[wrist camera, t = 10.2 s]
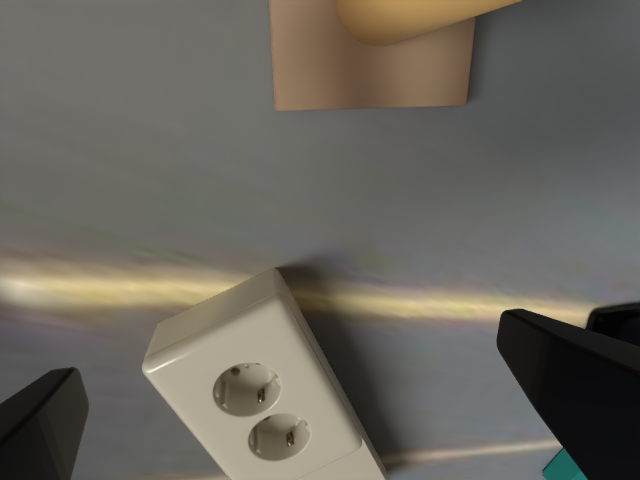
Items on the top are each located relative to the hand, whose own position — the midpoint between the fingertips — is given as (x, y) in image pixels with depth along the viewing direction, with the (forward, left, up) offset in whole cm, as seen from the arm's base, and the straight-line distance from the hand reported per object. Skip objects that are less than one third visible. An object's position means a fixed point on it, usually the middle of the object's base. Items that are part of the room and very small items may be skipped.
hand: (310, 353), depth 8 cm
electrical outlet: (0, +13, -13) cm, 18 cm away
